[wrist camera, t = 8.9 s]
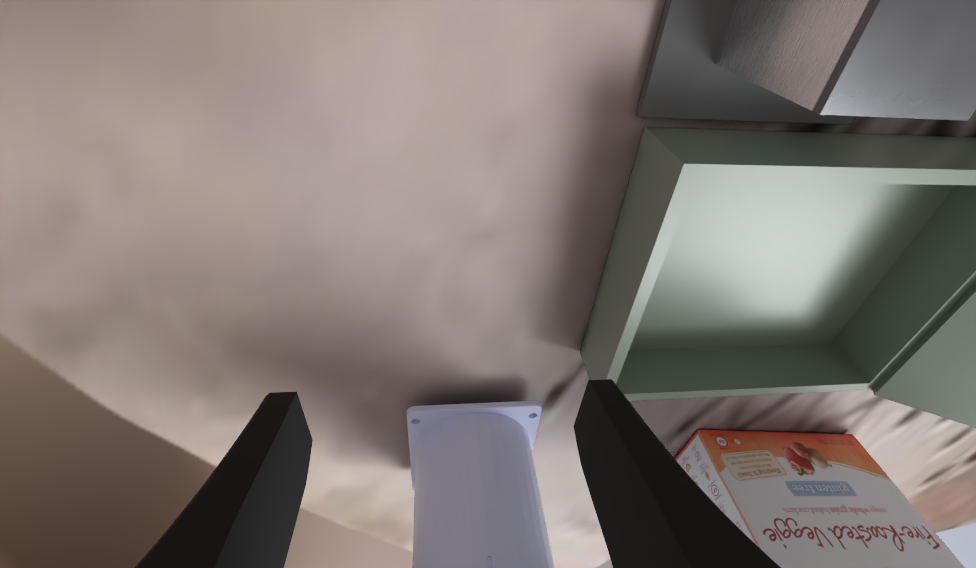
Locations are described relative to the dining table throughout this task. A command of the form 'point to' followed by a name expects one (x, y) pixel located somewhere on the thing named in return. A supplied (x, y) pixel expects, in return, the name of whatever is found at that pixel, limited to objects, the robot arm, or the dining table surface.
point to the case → (792, 269)
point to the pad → (708, 73)
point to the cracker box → (812, 500)
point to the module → (859, 55)
